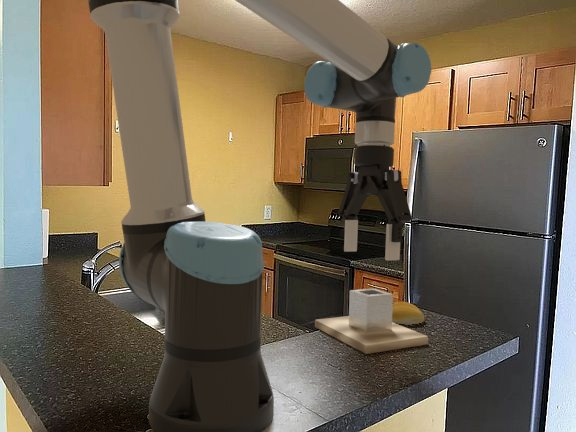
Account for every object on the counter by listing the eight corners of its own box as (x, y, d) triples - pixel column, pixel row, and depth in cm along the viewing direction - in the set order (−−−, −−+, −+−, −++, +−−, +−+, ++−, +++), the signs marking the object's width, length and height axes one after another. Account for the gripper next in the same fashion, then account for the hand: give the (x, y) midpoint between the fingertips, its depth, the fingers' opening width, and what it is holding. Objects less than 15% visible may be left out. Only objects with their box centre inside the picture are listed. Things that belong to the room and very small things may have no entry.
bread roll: (388, 326, 101) (389, 307, 101) (383, 315, 110) (384, 298, 110) (428, 327, 100) (429, 309, 100) (419, 316, 109) (420, 299, 109)
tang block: (427, 344, 88) (429, 309, 88) (366, 354, 82) (367, 317, 82) (370, 320, 105) (370, 291, 104) (314, 326, 98) (315, 295, 98)
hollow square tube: (391, 329, 92) (392, 294, 92) (366, 333, 89) (367, 296, 89) (373, 322, 97) (374, 288, 97) (348, 325, 95) (349, 290, 94)
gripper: (435, 141, 82) (430, 263, 83) (353, 152, 104) (350, 247, 105) (401, 138, 79) (396, 265, 80) (324, 149, 101) (321, 248, 102)
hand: (370, 255), depth 92 cm, fingers open, 13 cm apart
